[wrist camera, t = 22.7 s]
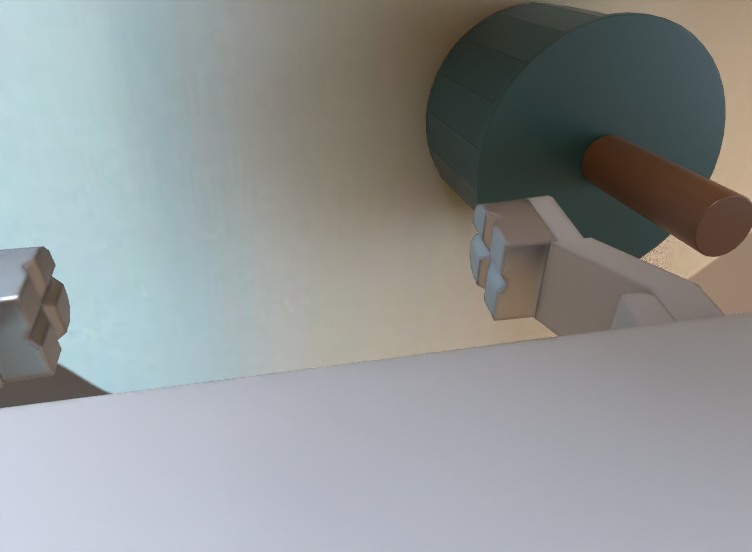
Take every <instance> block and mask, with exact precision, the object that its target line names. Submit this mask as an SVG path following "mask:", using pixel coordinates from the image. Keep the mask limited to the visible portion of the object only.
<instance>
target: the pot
mask: <svg viewBox="0 0 752 552" xmlns="http://www.w3.org/2000/svg"><path fill="white" fill-rule="evenodd" d="M603 15H607V14H605V13H600V12H595V11H589V10H584V9H579V8H574V7H569V6H563V5H553V4H544V3H528V4H521V5H517V6H513V7H509V8H507V9H504V10H501V11H499V12H496V13H495V14H493V15H491V16H489V17H487V18H486V19H484V20H482V21H481V22H480V23H478V24H477V25H476V26H474V27H473V28H472V29H471V30H470V31H468V32H467V33H466V34H465V35H464V36H463V37H462V38H461V39H460V40H459V41H458V43H457V44H456V45H455V46H454V47H453V49H452V50H451V51H450V53H449V54H448V56H447V57H446V59H445V60H444V62H443V64H442V66H441V68H440V70H439V72H438V74H437V75H436V78H435V81H434V83H433V86H432V89H431V93H430V97H429V101H428V107H427V115H426V133H427V140H428V146H429V149H430V153H431V156H432V159H433V161H434V163H435V166H436V168H437V169H438V171H439V173H440V175H441V177H442V179H443V180H444V181H445V182H446V183H447V184H448V185H449V186H450V187H451V188H452V189H453V190H454V191H455V192H456V193H457V194H458V195H459V196H460V197H461V198H462V199H463V200H464V201H465V202H466V203H467V204H468V205H469V206H470V207H471V208H472V209H473V210H475V208H476V201H475V194H474V184H473V180H474V162H475V156H476V149H477V145H478V141H479V138H480V134H481V131H482V128H483V125H484V123H485V120H486V118H487V116H488V113H489V111H490V109H491V107H492V105H493V103H494V102H495V100H496V98H497V96H498V94H499V93H500V91H501V90H502V88H503V87H504V85H505V84H506V83H507V81H508V80H509V78H510V77H511V76H512V74H513V73H514V72H515V71H516V70H517V69H518V68H519V66H520V65H521V64H522V63H523V62H524V61H525V60H526V59H527V58H528V57H529V56H530V55H531V54H532V53H534V52H535V51H536V50H537V49H538V48H539V47H540V46H542V45H543V44H544V43H546V42H547V41H549V40H550V39H551V38H553V37H554V36H556V35H557V34H559V33H561V32H562V31H564V30H566V29H568V28H570V27H572V26H573V25H576V24H578V23H581V22H583V21H586V20H588V19H591V18H595V17H599V16H603Z"/></svg>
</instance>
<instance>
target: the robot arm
mask: <svg viewBox="0 0 752 552" xmlns="http://www.w3.org/2000/svg"><path fill="white" fill-rule="evenodd" d="M473 224H474V226H475V228H476V230H477V232H478V233H477V234H476V235H475V236H474V238H473V239H472V240H471V245H470V263H471V270H472V273H473V277H474V279H475V281H476V283H477V285H478V286H480V287H482V288H483V289H485V293H484V301H485V303H486V305H487V307H488V309H489V311H490V313H491V315H492V317H493V319H494V321H497V320H507V319H518V318H528V317H535V319H536V320H538V321H539V322H541V323H542V324H543V325H545V326H546V327H547V328H549V329H550V330H552V331H553V332H554V333H556V334H557V335H558V337H550V338H543V339H535V340H527V341H519V342H512V343H504V344H496V345H488V346H481V347H473V348H465V349H457V350H450V351H442V352H434V353H426V354H419V355H411V356H403V357H396V358H388V359H380V360H372V361H365V362H357V363H349V364H341V365H334V366H326V367H318V368H310V369H303V370H295V371H287V372H279V373H271V374H264V375H256V376H248V377H240V378H233V379H225V380H217V381H209V382H202V383H194V384H186V385H178V386H171V387H163V388H155V389H147V390H140V391H132V392H124V393H116V394H109V395H101V396H93V397H85V398H77V399H70V400H62V401H55V402H46V403H39V404H31V405H23V406H15V407H8V408H0V552H752V312H746V313H738V314H730V315H725V314H724V313H723V312H722V311H721V310H720V309H719V307H718V306H717V305H716V304H715V303H714V302H713V301H712V300H711V299H710V298H709V297H708V295H707V294H706V293H705V292H704V291H703V290H702V289H701V287H700V286H699V285H698V284H696V283H693V282H691V281H689V280H686V279H684V278H682V277H680V276H677V275H675V274H673V273H671V272H668V271H666V270H664V269H661V268H659V267H657V266H655V265H652V264H650V263H648V262H645V261H643V260H641V259H639V258H636V257H634V256H632V255H630V254H627V253H625V252H623V251H620V250H618V249H616V248H614V247H611V246H609V245H607V244H604V243H602V242H600V241H598V240H595V239H593V238H583V236H582V235H581V234H580V233H579V231H578V230H577V229H576V227H575V226H574V225H573V223H572V222H571V221H570V219H569V218H568V217H567V215H566V214H565V213H564V212H563V210H562V209H561V208H560V206H559V205H558V204H557V202H556V201H555V200H554V198H553V197H551V196H548V195H546V196H539V197H532V198H525V199H518V200H510V201H502V202H494V203H485V204H477V205H476V208H475V210H474V216H473ZM54 268H55V263H54V260H53V258H52V256H51V254H50V252H49V250H48V249H46V248H45V247H43V246H42V247H29V248H17V249H4V250H0V389H1V387H3V385H4V384H3V383H5V382H11V381H18V380H25V379H31V378H39V377H45V376H51V375H54V372H55V369H56V365H57V362H58V359H59V356H60V353H61V347H60V345H59V342H58V339H59V338H60V337H62V336H63V335H64V334H65V333H66V332H67V329H68V326H69V322H70V305H69V300H68V296H67V293H66V290H65V287H64V285H63V284H62V283H61V282H59V281H58V280H57V279H55V278H54V277H52V274H53V271H54Z"/></svg>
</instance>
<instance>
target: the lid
mask: <svg viewBox="0 0 752 552" xmlns="http://www.w3.org/2000/svg"><path fill="white" fill-rule="evenodd" d="M724 127H725V97H724V90H723V85H722V81H721V78H720V74H719V71H718V69H717V67H716V65H715V63H714V60H713V58H712V57H711V55H710V54H709V52H708V51H707V49H706V48H705V46H704V45H703V44H702V43H701V42H700V41H699V40H698V39H697V38H696V37H695V36H694V35H693V34H692V33H691V32H689V31H688V30H686V29H685V28H683V27H682V26H681V25H679V24H677V23H674V22H672V21H670V20H668V19H665V18H661V17H657V16H653V15H649V14H643V13H630V12H625V13H614V14H607V15H603V16H599V17H595V18H591V19H588V20H586V21H583V22H581V23H578V24H576V25H573V26H572V27H570V28H568V29H566V30H564V31H562V32H561V33H559V34H557V35H556V36H554V37H553V38H551V39H550V40H549V41H547V42H546V43H544V44H543V45H542V46H540V47H539V48H538V49H537V50H536V51H535V52H534V53H532V54H531V55H530V56H529V57H528V58H527V59H526V60H525V61H524V62H523V63H522V64H521V65H520V66H519V68H518V69H517V70H516V71H515V72H514V73H513V74H512V76H511V77H510V78H509V80H508V81H507V83H506V84H505V85H504V87H503V88H502V90H501V91H500V93H499V94H498V96H497V98H496V100H495V102H494V103H493V105H492V107H491V109H490V111H489V113H488V116H487V118H486V120H485V123H484V125H483V128H482V131H481V134H480V138H479V141H478V145H477V149H476V156H475V162H474V180H473V184H474V194H475V201H476V205H477V204H485V203H494V202H502V201H510V200H518V199H525V198H532V197H539V196H546V195H548V196H551V197H553V198H554V200H555V201H556V202H557V204H558V205H559V206H560V208H561V209H562V210H563V212H564V213H565V214H566V215H567V217H568V218H569V219H570V221H571V222H572V223H573V225H574V226H575V227H576V229H577V230H578V231H579V233H580V234H581V235H582V236H583V238H593V239H595V240H598V241H600V242H602V243H604V244H607V245H609V246H611V247H614V248H616V249H618V250H620V251H623V252H625V253H627V254H630V255H632V256H634V257H636V258H641V257H642V256H644V255H645V254H647V253H648V252H650V251H651V250H653V249H654V248H655V247H656V246H658V245H659V244H660V243H661V242H662V241H664V240H665V239H666V238H667V237H668V236H669V235H670V234H671V235H673V236H674V237H676V238H678V239H679V240H681V241H682V242H684V243H686V244H687V245H689V246H690V247H692V248H693V249H695V250H697V251H698V252H700V253H701V254H703V255H705V256H710V257H716V256H721V255H724V254H726V253H728V252H730V251H732V250H733V249H735V248H736V247H737V246H738V245H739V244H740V243H741V242H742V241H743V240H744V239H745V238H746V236H747V235H748V233H749V232H750V230H751V227H752V203H751V201H750V200H749V199H748V198H747V197H745V196H743V195H741V194H739V193H737V192H735V191H733V190H731V189H728V188H726V187H724V186H722V185H720V184H718V183H716V182H714V181H712V180H710V177H711V175H712V173H713V170H714V168H715V165H716V162H717V159H718V156H719V153H720V149H721V145H722V140H723V136H724Z"/></svg>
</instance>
